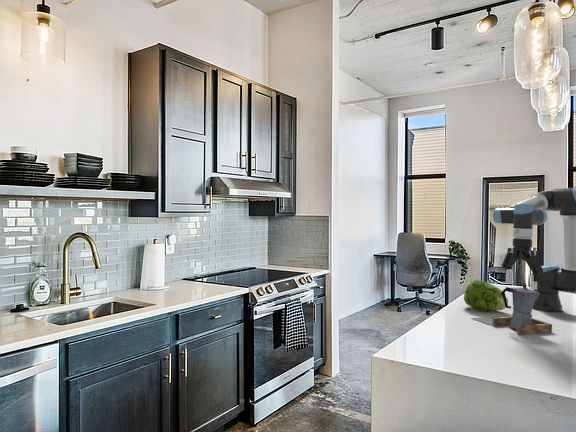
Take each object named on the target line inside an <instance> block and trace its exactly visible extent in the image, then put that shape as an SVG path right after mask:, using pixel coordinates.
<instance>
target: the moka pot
mask: <svg viewBox="0 0 576 432" xmlns="http://www.w3.org/2000/svg"><path fill="white" fill-rule="evenodd" d="M501 291H502V296H503V299H504V304H505V307H506V308H507V309H509V310H510V309H512V310H513V311H512V314H511V317H512V318H511V322H510V325H508V326H509V328H511V329H513V330H516V331H517V326H523V325H532V321H531V318H532V317H533V314H532V312H533V305H534V302H535V300H536V299H537V297H538V296H539V294H541V293H539V292H538V291H534V289H531V288H527V284H526V283H523V284H522V287H508V286H507V287H505V288H504V289H503V290H501ZM506 292H508V293H511V294H512V295H511V296H512V306H513V307H512V306H511V305H509V303H508V304H507V300H506V297H507V296H506ZM506 308H505V309H506Z"/></svg>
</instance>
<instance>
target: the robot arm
mask: <svg viewBox="0 0 576 432" xmlns="http://www.w3.org/2000/svg"><path fill="white" fill-rule="evenodd" d="M548 211H551V212H559V216H560V217H561V218H562V219H563V246H564V247H563V249H564V253H563V255H564V256H563V257H564V264H563V265H562V266H561V268H560V265H542V264H541V262H540V259H539V256H538V251H537V249H535V250H531V248H532V247H533V239H532V238H533V232H534V231H533V228H534V226H540V225H541V226H542V225H544V224H545V223H546V222H547V220H548V213H547V212H548ZM491 217H492V221H493V222H494V223H495V224H501V225H503V224H505V225H513V226H512V227H513V229H512V237H513V239H512V247H507V253H506V255H505V257H504V259H503V261H502V263H501V267H502V268H503V269H505V271H504V276H505V284H507V285H511V284H513V269H512V268H513V266H515V264H516V262H518V260H521V261H522V260H524V261H525V263H526V264H527V266H528V267H529V269H530V271H531V274H530V290H534V291H538V292H539V293H541V294H539V296H538V297H537V299H536V300H535V302H534V305H533V308H532V310H533V309H534V310H538V311H544V312H551V313H552V312H555V313H556V312H562V311H563V305H562V303H561V299H560V296H559V293H560V292H562V293H569V294H573V295H574V294H575V295H576V187H566V188H550V189H545V190H543V191H539V192H536V193H534V194H531V196H530V197H529V198H527V199H525V200H522V201H519V202H516V203H515V204H512V205H510V206H507V207H497V208H494V209H493V211H492V216H491Z"/></svg>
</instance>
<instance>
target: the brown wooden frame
mask: <svg viewBox="0 0 576 432" xmlns="http://www.w3.org/2000/svg"><path fill="white" fill-rule="evenodd" d="M511 318H512V316H502V317H501V316H498V317H497V318H493V322H492V325H491V326H492V327H503V326H504V327H505V326H510V322H511ZM531 321H532V325H523V326H517V330H516V335H518V336H523V335H525V336H526V335H534V334H547V333H553V324H552V323H549V322H546V321H544V320H543V321H542V320H540V319H536V318H532V317H531Z"/></svg>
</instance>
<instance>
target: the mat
mask: <svg viewBox="0 0 576 432" xmlns="http://www.w3.org/2000/svg"><path fill="white" fill-rule="evenodd" d="M497 317H499V316H496V315H495V316H485V317H484V316H483V317H471V320H474V321H477V322H479V323H482V324H485V325H487V326H492V322H493V318H497Z"/></svg>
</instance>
